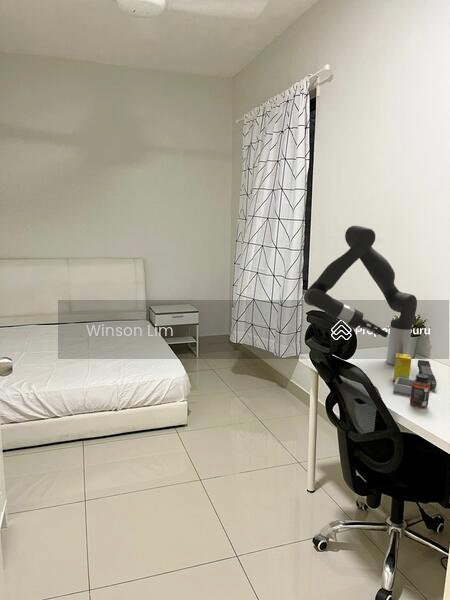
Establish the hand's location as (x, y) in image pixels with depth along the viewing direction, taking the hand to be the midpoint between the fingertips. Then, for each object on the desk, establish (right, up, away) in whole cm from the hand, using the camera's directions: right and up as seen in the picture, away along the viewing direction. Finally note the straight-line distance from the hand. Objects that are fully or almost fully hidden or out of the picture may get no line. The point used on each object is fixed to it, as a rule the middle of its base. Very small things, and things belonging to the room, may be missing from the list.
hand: (382, 334), depth 186 cm
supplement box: (+7, -20, 0) cm, 21 cm away
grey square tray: (+6, -21, -11) cm, 25 cm away
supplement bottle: (+4, -24, -25) cm, 35 cm away
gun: (+18, -20, 0) cm, 27 cm away
